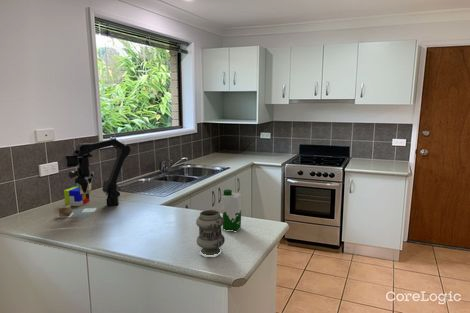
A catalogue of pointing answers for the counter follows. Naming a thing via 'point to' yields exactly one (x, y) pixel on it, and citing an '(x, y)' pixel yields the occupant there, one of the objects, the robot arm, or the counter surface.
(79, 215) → the mat
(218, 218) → the apothecary jar
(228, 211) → the milk carton
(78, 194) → the puzzle toy
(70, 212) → the walnut cube
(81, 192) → the maple cube
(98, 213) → the counter surface
